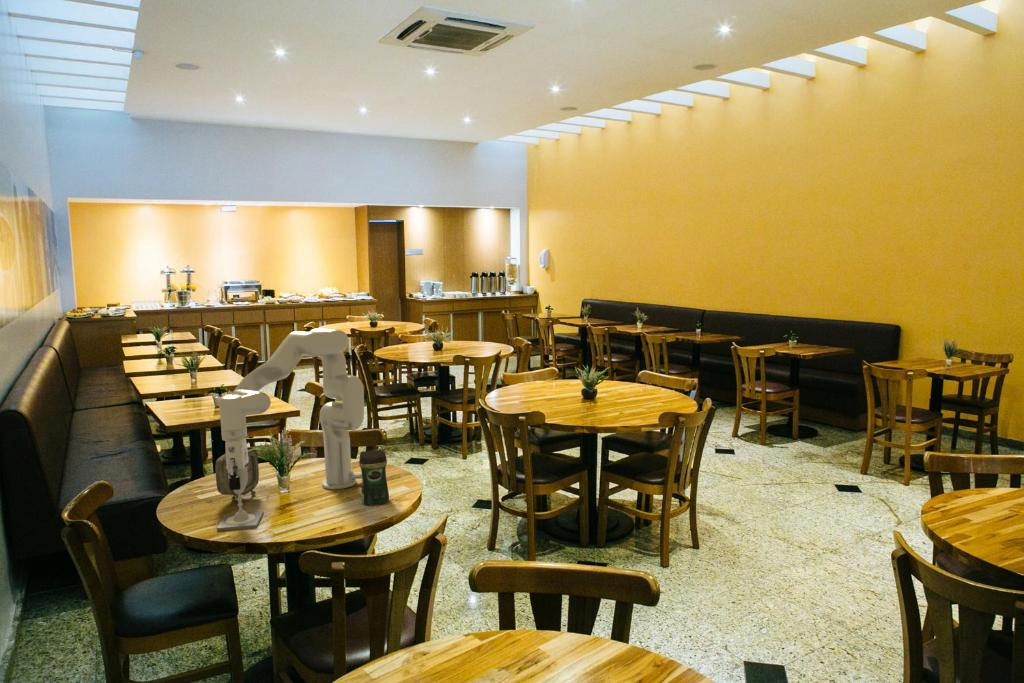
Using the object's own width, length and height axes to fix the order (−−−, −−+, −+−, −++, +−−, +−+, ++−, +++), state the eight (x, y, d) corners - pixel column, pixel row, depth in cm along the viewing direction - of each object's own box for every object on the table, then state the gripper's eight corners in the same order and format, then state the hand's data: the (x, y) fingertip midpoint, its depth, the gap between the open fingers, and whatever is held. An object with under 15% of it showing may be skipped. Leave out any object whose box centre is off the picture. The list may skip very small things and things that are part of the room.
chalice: (234, 514, 227) (230, 462, 224) (255, 513, 227) (251, 461, 225) (226, 523, 220) (222, 469, 217) (248, 522, 220) (244, 468, 218)
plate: (263, 513, 230) (263, 510, 230) (256, 527, 219) (256, 524, 218) (226, 516, 228) (225, 513, 228) (216, 531, 217) (216, 527, 216)
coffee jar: (387, 496, 244) (385, 446, 242) (390, 504, 237) (387, 452, 234) (360, 499, 242) (357, 449, 239) (361, 507, 234) (359, 455, 232)
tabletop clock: (241, 508, 236) (236, 438, 232) (216, 508, 236) (210, 438, 233) (260, 493, 250) (255, 427, 247) (236, 493, 251) (231, 427, 247)
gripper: (240, 440, 212) (245, 492, 214) (252, 425, 229) (256, 474, 231) (215, 441, 210) (219, 494, 213) (228, 427, 227) (232, 476, 230)
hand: (238, 484), depth 222 cm, fingers open, 9 cm apart
